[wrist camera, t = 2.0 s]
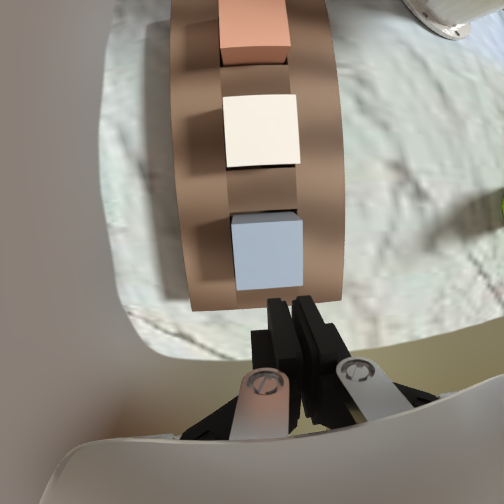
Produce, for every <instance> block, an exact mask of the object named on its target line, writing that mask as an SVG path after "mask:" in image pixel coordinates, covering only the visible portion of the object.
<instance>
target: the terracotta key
mask: <svg viewBox="0 0 504 504" xmlns="http://www.w3.org/2000/svg"><path fill="white" fill-rule="evenodd" d="M219 28H220V49H221V54H222V60H223V65H224V66H232V65H249V64H284V61H285V59H286V57H287V54H288V52H289V49H290V47H291V43H290V35H289V27H288V19H287V12H286V5H285V0H219Z"/></svg>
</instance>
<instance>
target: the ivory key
mask: <svg viewBox="0 0 504 504" xmlns="http://www.w3.org/2000/svg"><path fill="white" fill-rule="evenodd" d="M223 110H224V127H225V143H226V159H227V167H240V166H256V165H277V164H300V146H299V130H298V116H297V103H296V95H291V94H280V95H247V96H231V97H223Z"/></svg>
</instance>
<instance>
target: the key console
mask: <svg viewBox="0 0 504 504" xmlns="http://www.w3.org/2000/svg"><path fill="white" fill-rule="evenodd" d="M285 5H286V12H287V19H288V27H289V35H290V43H291V47H290V49H289V52H288V54H287V57H286V59H285V61H284V64H249V65H232V66H224V65H223V60H222V54H221V49H220V28H219V0H172V3H171V26H170V101H171V126H172V144H173V159H174V172H175V184H176V195H177V205H178V214H179V223H180V232H181V240H182V248H183V255H184V263H185V270H186V277H187V283H188V290H189V296H190V302H191V308H192V311H216V310H235V309H251V308H265V307H267V299H269V298H281V301H286V302H287V305H288V306H290V305H292V300H296V298H297V296H305V295H311V297H312V299H313V301H314V303H321V302H331V301H340V300H341V299H342V284H343V267H344V242H345V173H344V148H343V132H342V118H341V106H340V96H339V86H338V78H337V70H336V62H335V55H334V48H333V42H332V36H331V30H330V25H329V19H328V14H327V9H326V4H325V0H285ZM280 94H291V95H296V103H297V116H298V130H299V146H300V164H277V165H256V166H240V167H227V159H226V143H225V127H224V110H223V97H231V96H247V95H280ZM274 212H294V213H295V214H296V215H297V216H298V217H299V218H301V219H302V220H303V286H292V287H279V288H266V289H252V290H237V287H236V275H235V264H234V252H233V239H232V227H231V224H232V219H233V215H242V214H257V213H274Z"/></svg>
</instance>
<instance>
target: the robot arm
mask: <svg viewBox="0 0 504 504" xmlns="http://www.w3.org/2000/svg"><path fill="white" fill-rule="evenodd" d="M403 2H404V3H405V4H406V6H407V7H408V8H409V9H410V10H411V12H412V13H413V14H414V15H415V16H416V17H417V18H418V19H419V20H420V21H421V22H422V23H424V24H425V25H426V26H427V27H429V28H430V29H431V30H433V31H434V32H436V33H437V34H439V35H441V36H443V37H445V38H448V39H452V40H461V39H463V38H465V37H467V36H468V35H469V33H470V29H471V24H470V23H471V22H473V21H475V20H477V19H479V18H482V17H484V16H486V15H489V14H491V13H494V12H496V11H498V10H501V9H504V0H403ZM267 315H268V330H254V331H251V345H252V363H253V371H251V372H249V373H247V374H246V375H245V376H244V377H243V380H242V382H241V386H240V391H239V395H238V396H237V397H235V398H234V399H232V400H231V401H229V402H228V403H227V404H225V405H224V406H222V407H221V408H219V409H218V410H216V411H215V412H213V413H212V414H211V415H209V416H207V417H206V418H204V419H203V420H201V421H200V422H198V423H197V424H195V425H193V426H192V427H190V428H189V429H187V430H186V431H185V432H184V433H183V434H182V435H181V436H173V434H163V435H154V436H153V435H152V436H139V437H122V438H121V437H120V438H113V439H107V440H100V441H94V442H90V443H86V444H82V445H80V446H78V447H76V448H74V449H73V450H71V451H70V452H69V453H68V454H67V455H66V456H65V457H64V458H63V459H62V461H61V462H60V463H59V465H58V467H57V468H56V470H55V471H54V473H53V475H52V477H51V479H50V480H49V483H48V485H47V487H46V489H45V492H44V494H43V496H42V498H41V501H40V503H39V504H504V374H501V375H498V376H495V377H493V378H490V379H487V380H485V381H483V382H480V383H478V384H475V385H473V386H471V387H468V388H466V389H464V390H461V391H457V392H451V393H445V394H439V396H438V398H437V397H436V396H435V395H432V394H430V393H427V392H423V391H420V390H416V389H413V388H410V387H407V386H404V385H400V384H397V383H394V382H392V381H391V380H390V379H389V378H388V377H387V375H386V374H385V373H384V372H383V371H382V370H381V368H380V367H379V366H378V365H377V364H376V363H375V362H374V361H372V360H370V359H368V358H364V357H351V355H350V353H349V351H348V349H347V347H346V345H345V344H344V342H343V340H342V338H341V336H340V334H339V332H338V331H337V329H336V327H335V325H334V324H333V323H328V324H325V323H324V321H323V319H322V317H321V315H320V313H319V311H318V309H317V307H316V305H315V303H314V301H313V299H312V297H311V295H305V296H297V298H296V300H292V318H291V315H290V312H289V309H288V305H287V302H286V301H281V298H269V299H267ZM301 399H302V403H303V407H304V412H305V416H306V418H309V417H311V419H312V423H313V425H316V424H321V425H323V426H325V427H326V431H321V432H315V433H308V434H301V435H294V436H288V435H289V434H290V433H291V432H292V431H293V430H294V429H295V428H296V427H297V421H298V419H299V417H300V406H301Z"/></svg>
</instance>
